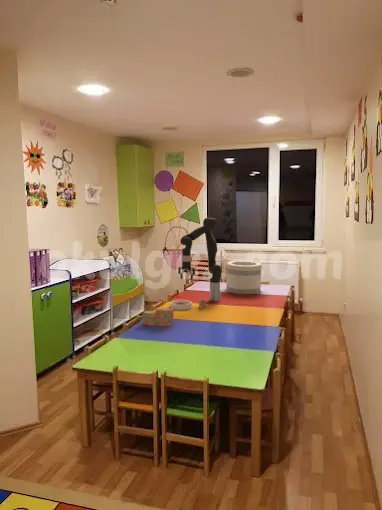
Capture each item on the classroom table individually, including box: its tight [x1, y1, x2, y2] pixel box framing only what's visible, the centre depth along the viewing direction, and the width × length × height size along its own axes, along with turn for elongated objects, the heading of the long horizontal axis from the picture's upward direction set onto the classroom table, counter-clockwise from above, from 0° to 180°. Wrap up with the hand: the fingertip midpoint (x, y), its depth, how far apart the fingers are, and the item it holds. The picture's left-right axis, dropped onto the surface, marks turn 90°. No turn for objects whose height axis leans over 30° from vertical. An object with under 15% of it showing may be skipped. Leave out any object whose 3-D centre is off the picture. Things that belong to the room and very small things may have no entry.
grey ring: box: [169, 299, 193, 311], centre depth 357 cm, size 18×18×4 cm
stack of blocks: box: [142, 306, 174, 327], centre depth 309 cm, size 21×6×12 cm, turn 84°
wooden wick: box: [198, 298, 206, 309], centre depth 356 cm, size 4×4×7 cm
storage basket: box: [225, 260, 263, 295], centre depth 423 cm, size 35×35×27 cm
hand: (186, 279), depth 357 cm, fingers open, 8 cm apart
